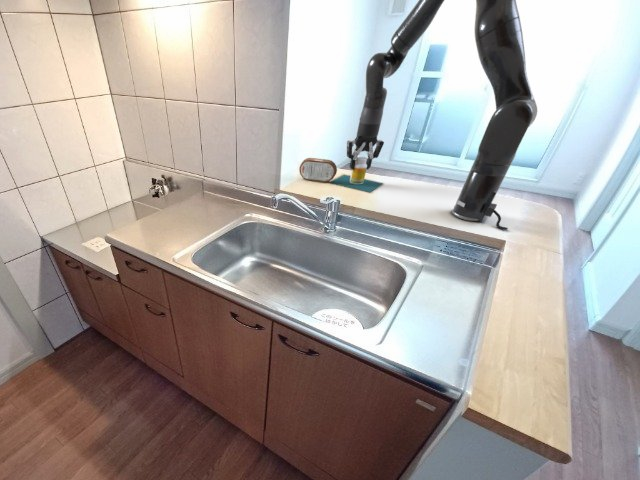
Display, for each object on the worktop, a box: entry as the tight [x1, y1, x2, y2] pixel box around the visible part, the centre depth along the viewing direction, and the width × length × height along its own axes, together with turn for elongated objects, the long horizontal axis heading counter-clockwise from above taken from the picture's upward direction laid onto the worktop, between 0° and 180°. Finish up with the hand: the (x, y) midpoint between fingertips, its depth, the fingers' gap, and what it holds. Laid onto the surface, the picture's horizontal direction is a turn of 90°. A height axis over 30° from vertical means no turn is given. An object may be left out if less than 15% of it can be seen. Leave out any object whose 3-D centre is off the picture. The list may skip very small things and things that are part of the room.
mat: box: [329, 174, 384, 193], centre depth 132 cm, size 17×13×1 cm
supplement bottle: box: [350, 155, 368, 185], centre depth 129 cm, size 5×5×10 cm
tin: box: [298, 157, 338, 183], centre depth 132 cm, size 15×3×8 cm, turn 66°
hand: (359, 168), depth 128 cm, fingers closed on supplement bottle, 5 cm apart
